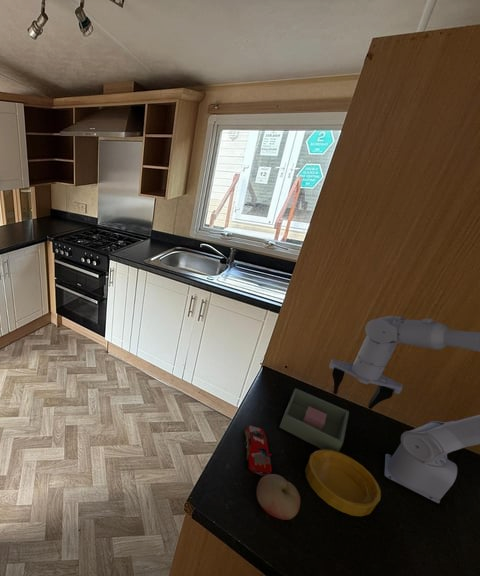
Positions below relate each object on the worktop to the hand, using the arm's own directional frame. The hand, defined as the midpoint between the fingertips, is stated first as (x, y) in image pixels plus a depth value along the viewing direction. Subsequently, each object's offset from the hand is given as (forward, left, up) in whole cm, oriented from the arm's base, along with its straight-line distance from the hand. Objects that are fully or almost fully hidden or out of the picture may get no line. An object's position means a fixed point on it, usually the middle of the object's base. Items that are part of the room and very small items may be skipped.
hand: (352, 399), depth 85 cm
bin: (+6, +7, -9) cm, 13 cm away
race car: (+15, +26, -10) cm, 32 cm away
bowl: (-2, +22, -9) cm, 24 cm away
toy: (+6, +7, -9) cm, 13 cm away
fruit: (+8, +37, -10) cm, 39 cm away
